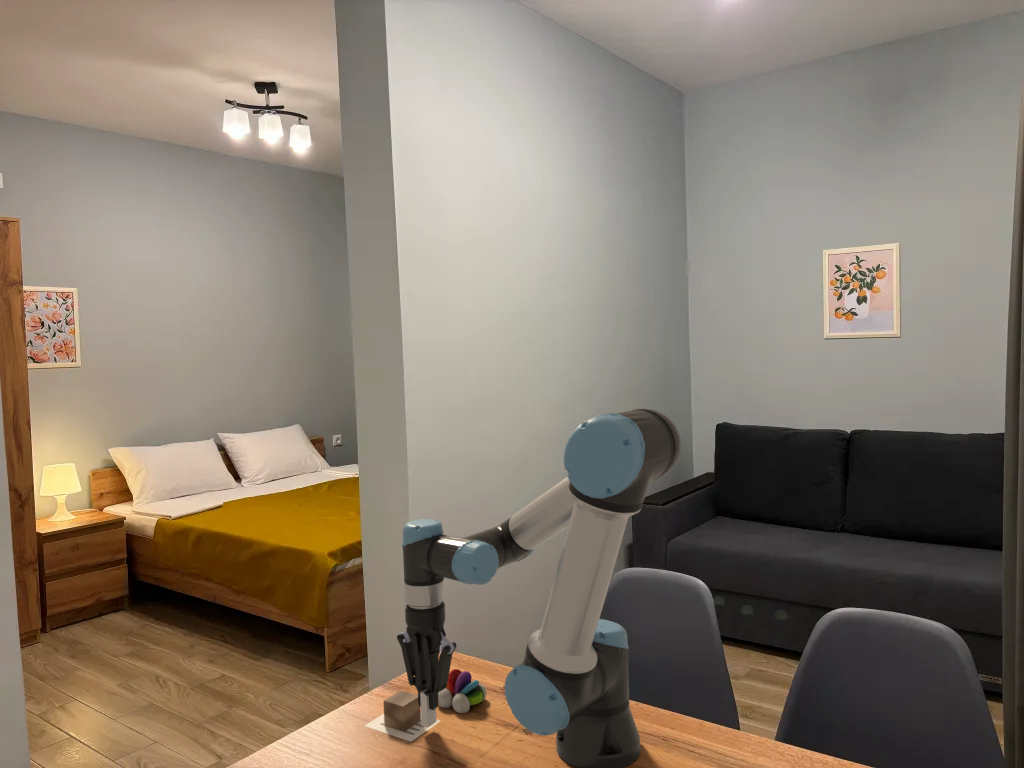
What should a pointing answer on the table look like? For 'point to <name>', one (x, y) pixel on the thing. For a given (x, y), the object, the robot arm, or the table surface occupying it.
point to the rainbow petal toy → (461, 692)
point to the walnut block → (401, 711)
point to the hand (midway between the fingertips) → (429, 723)
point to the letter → (407, 735)
